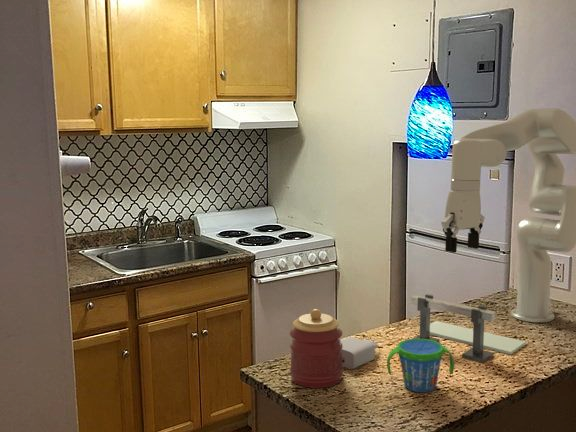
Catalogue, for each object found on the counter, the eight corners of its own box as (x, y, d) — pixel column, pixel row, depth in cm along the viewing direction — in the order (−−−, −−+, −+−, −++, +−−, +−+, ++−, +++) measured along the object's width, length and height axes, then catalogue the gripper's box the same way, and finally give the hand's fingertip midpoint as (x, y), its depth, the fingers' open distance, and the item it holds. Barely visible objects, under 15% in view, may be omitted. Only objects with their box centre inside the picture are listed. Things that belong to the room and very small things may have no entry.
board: (436, 323, 195) (436, 320, 194) (525, 344, 176) (525, 341, 176) (419, 331, 187) (419, 329, 187) (510, 354, 169) (510, 351, 168)
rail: (415, 301, 180) (415, 295, 180) (495, 319, 164) (495, 311, 164) (410, 303, 178) (410, 296, 178) (491, 321, 162) (491, 313, 162)
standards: (420, 337, 182) (421, 292, 180) (493, 356, 168) (495, 307, 165) (409, 343, 178) (410, 297, 176) (483, 363, 163) (485, 312, 161)
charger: (388, 354, 171) (353, 370, 160) (361, 345, 177) (326, 361, 167) (388, 337, 170) (354, 353, 160) (361, 329, 177) (326, 344, 166)
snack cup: (387, 395, 146) (388, 353, 144) (385, 376, 156) (386, 337, 154) (456, 397, 144) (458, 355, 142) (450, 378, 154) (451, 338, 153)
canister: (353, 380, 154) (353, 311, 151) (309, 394, 147) (308, 321, 144) (322, 363, 165) (322, 298, 162) (280, 375, 158) (279, 307, 155)
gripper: (472, 184, 176) (469, 244, 178) (433, 186, 165) (430, 251, 167) (496, 186, 170) (492, 248, 172) (456, 189, 159) (453, 255, 162)
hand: (462, 249), depth 170 cm, fingers open, 9 cm apart
